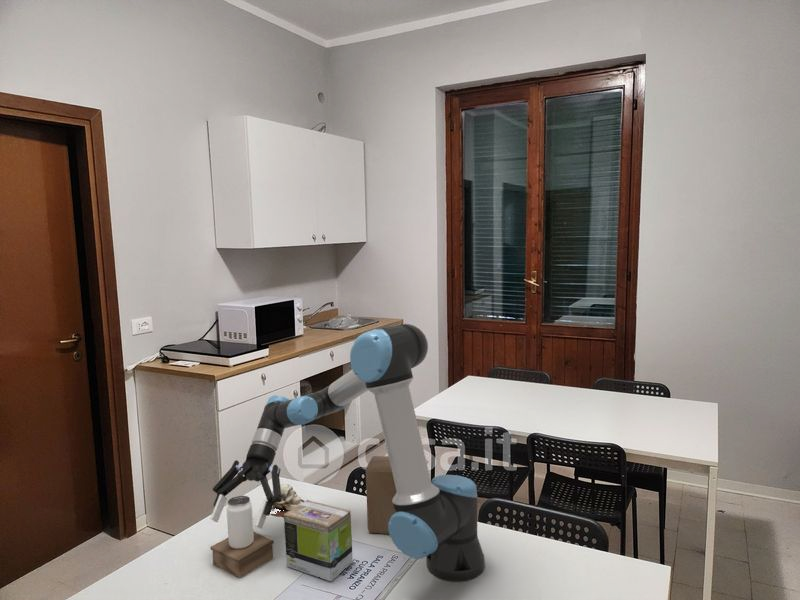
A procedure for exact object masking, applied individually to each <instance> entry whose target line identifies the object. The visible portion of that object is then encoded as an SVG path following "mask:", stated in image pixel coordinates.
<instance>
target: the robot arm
mask: <svg viewBox="0 0 800 600" xmlns="http://www.w3.org/2000/svg"><path fill="white" fill-rule="evenodd" d="M428 345H429V344H428V339H427V337H426V335H425V333H423V331H422V329H420V328H419V327H417V326H415V325H413V324H410V323H401V324H400V323H399V324H396V325H391V326H387V327H380V328H374V329H371V330H369V331H365V332H364V333H361V334H359V336H357V338H355V340H354V343H353V344H352V346H351V349H350V351H349V354H350V355H349V363H350V366H351V370H350V371H348V372H347V373H345V374H344V375H341V376H340V377H339V378H337V379H336V380H335V381H333V382H332V383H331V384H329V385H327V386H326V387H325V388H323V389H321V390H318V391H315V392H312V393H308V394H305V395H302V396H299V397H294V398H292V399H289V398H288V397H286V396H284V395H277V394H276V395H271V396H270V397H269V398H268V399H267V402H266V404H265V405H264V407H263V412H262V413H261V417H260V419H259V422H258V425H257V428H256V430H255V433H254V434H253V435H254V436H253V437H252V440H251V444H250V445H249V448H248V450H247V454H246V457H245V458H246V459H245V461H244V462H239V461H238V460H234V461H233V463H232V465H231V467H230V468H229V470H228V471H227V472H226V473H225V474H224V475H223V476H222V477H221V478H220V479H219V481H218V482H217V483H216V484H215V486H213V487H212V491H213V492H214V493H215V494H216V497H215V500H214V503H213V505H212V506H213V507H214V509H213V511H212V512H211V516H210V520H212V521H213V522H215V523H218V522H219V520H220V518H221V514H222V512H223V509H224V508H225V505H226V501H227V497H226V496H227V495H228V494H230V493H231V492H233V491H234V489H236V488H237V487H238V486H240V485H241V484H243V483H244V482H246V481H250V482H252V481H255V482H260V483H261V487H262V490H263V493H264V495H265V497H266V500H265V499H263V501H262V505H261V508H260V511H259V513H258V516H257V519H256V521H255V527H257V528H258V529H260V530H263V527H264V524H265V522H266V518H267V516H270V515H271V514H270V512H271V510H272V509H273V507H274V506H273V504H274V503H276V502H281V501H282V497H281V488H280V485H281V481H280V473H281V467H279V466H278V465H277V464H274V465H273V463H274V461H275V458H276V453H277V452H276V451H278V448H279V444H280V442H281V440H282V437H283V434H284V431H285V429H287V428H291V427H297V426H304V425H307V424H309V423H311V422H313V421H314V420H317V419H320V418H322V417H325V416H328V415H330V414H334V413H338V412H340V411H342V410H344V409H345V408H347V406H348V404H349V403H351V402H352V401H353V400H355V399H357V398H359V397H361V396H362V395H364V394H365V393H366V392H368V391H369V392H370V393H372V394H373V395H374V398H375V403H376V408H377V412H378V416H379V421H380V425H381V430H382V433H383V434H382V435H383V438H384V443H385V447H386V451H387V455H388V456H389V460H390V465H391V469H392V474H393V478H394V482H395V487H396V491H397V492H396V494H395V496H394V498H393V499H392V502H393V506H394V511H395V514H394V515H392V517H391V518H390V521H389V523H388V530H389V534H388V535H389V537H390V539H391V541H392V544H394V546H395V547H396V549H398V550H399V551H401V553H402V554H404V556H407V557H409V558H411V559H415V560H417V559H418V560H419V559H423V558H425V559H426V561H425V563H426V568H427V570H428V571H429V572H430V574H431V575H434V577H436V578H439V579H442V580H443V581H444V580H445V581H450V582H463V581H469V580H472V579H474V578H477V577H478V576H480V575H481V574H482V573H483V572H484V570H485V566H486V565H485V554H484V552H483V549H482V546H481V543H480V540H479V538H478V497H479V496H478V493H477V491H478V490H477V485H476V483H475V482H474V481H473V480H472V479H470V478H468V477H465V476H462V475H457V474H456V475H455V474H441V475H440V474H439V475H437V476H434V477H433V478H432V479H431V476H430V473H429V467H428V464H427V463H428V462H427V460H426V456H425V449H424V446H423V445H424V444H423V440H422V437H421V433H420V429H419V424H418V421H417V416H416V411H415V408H414V402H413V399H412V395H411V389H410V384H412V381H413V379H414V375H413V370H412V369H413V368H415V367H418V366H420V364H421V363H423V361H424V360H425V359H426V357H427V354H428V351H429V350H428V349H429V346H428ZM272 465H273V466H272ZM269 473H270V474H271V481H272V482H271V483H272V489H271V486H270V484H269V481H268V477H267V475H268V474H269ZM272 491H273V493H274V496H273V494H272Z"/></svg>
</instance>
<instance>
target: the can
mask: <svg viewBox="0 0 800 600" xmlns="http://www.w3.org/2000/svg"><path fill="white" fill-rule="evenodd" d="M252 505H253V504H252V502H251V500H250V497H249V496H247V495H236V496H232V497H231V498H229V500H227V506H226V518H227V522H226V523H227V535H228V537H227V538H228V539H229V545H230V546H231V547H232V548H234V549H243V548H246V547H248V546H250V545H251V544H252V543H253V541H254V534H253V532H254V520H253V519H254V517H253V516H254V515H253V506H252Z"/></svg>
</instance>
